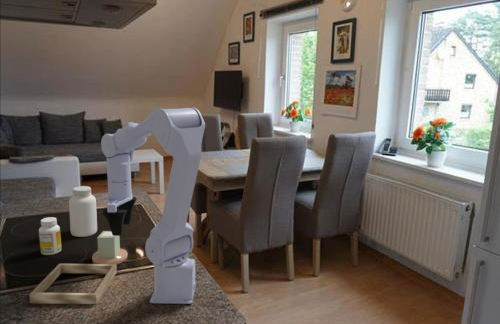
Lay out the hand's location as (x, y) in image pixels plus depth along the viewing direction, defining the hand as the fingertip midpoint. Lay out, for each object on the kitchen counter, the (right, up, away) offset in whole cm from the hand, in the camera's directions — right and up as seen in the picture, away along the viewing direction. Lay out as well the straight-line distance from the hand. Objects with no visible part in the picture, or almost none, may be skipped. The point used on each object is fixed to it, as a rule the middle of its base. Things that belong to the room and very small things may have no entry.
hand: (121, 229), depth 103 cm
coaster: (-5, -9, +6) cm, 12 cm away
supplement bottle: (-23, -8, +9) cm, 26 cm away
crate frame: (-8, -12, -9) cm, 17 cm away
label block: (-5, -8, +5) cm, 11 cm away
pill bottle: (-20, -5, +23) cm, 31 cm away
